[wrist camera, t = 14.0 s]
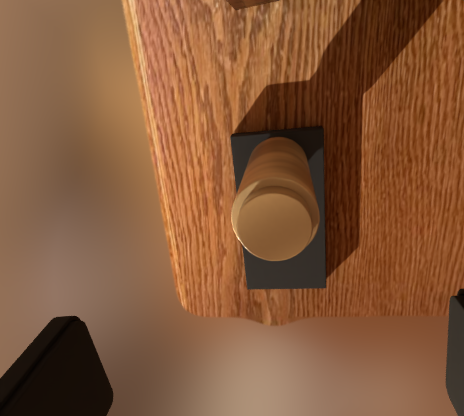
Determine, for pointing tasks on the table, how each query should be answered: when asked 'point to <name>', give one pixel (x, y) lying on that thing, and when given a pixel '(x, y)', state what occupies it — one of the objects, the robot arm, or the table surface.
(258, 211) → the bottle
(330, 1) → the table surface
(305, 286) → the mat
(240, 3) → the cabinet
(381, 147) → the table surface
